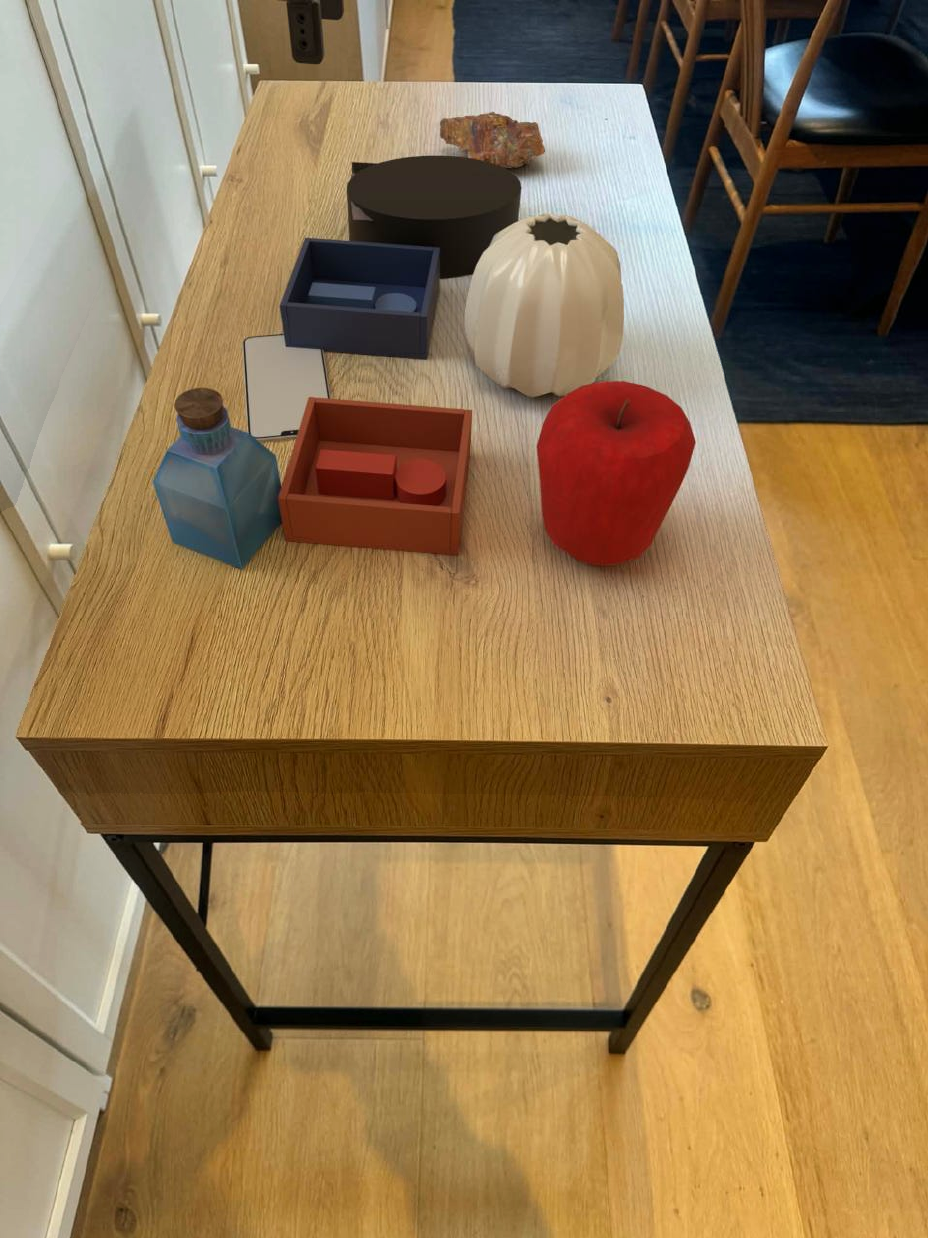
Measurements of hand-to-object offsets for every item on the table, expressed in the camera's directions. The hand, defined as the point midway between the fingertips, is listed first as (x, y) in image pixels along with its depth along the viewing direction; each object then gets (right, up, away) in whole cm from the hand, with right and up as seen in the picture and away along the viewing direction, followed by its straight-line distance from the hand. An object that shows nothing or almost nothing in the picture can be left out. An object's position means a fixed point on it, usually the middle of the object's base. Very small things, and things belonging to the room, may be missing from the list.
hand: (319, 38), depth 67 cm
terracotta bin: (+4, -33, +5) cm, 34 cm away
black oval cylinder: (+8, -3, +29) cm, 30 cm away
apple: (+21, -37, +2) cm, 43 cm away
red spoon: (+4, -33, +4) cm, 34 cm away
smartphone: (-5, -23, +13) cm, 27 cm away
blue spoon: (+1, -15, +19) cm, 24 cm away
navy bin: (+1, -14, +20) cm, 24 cm away
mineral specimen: (+14, +11, +40) cm, 44 cm away
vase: (+18, -21, +16) cm, 31 cm away
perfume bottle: (-7, -37, +2) cm, 37 cm away
